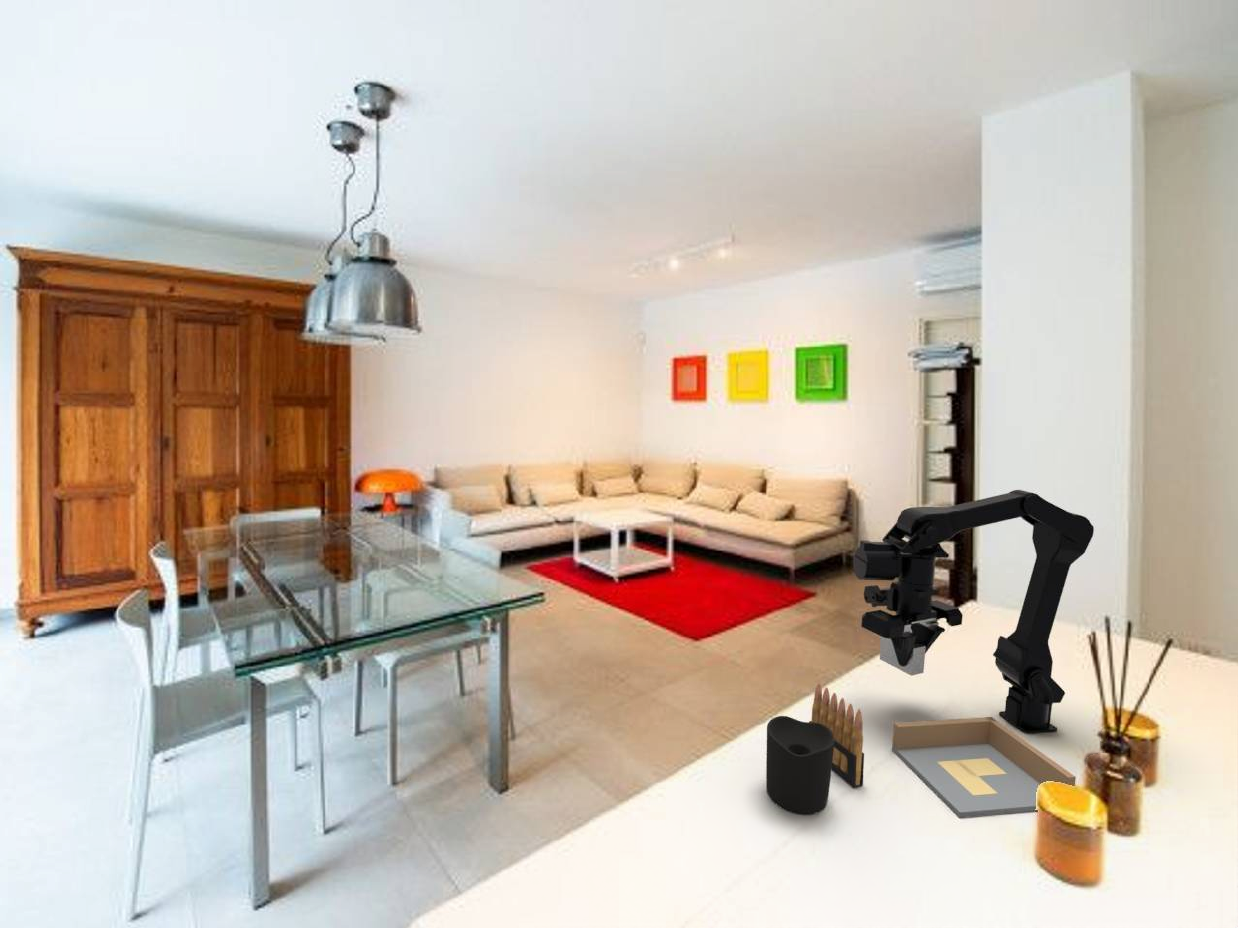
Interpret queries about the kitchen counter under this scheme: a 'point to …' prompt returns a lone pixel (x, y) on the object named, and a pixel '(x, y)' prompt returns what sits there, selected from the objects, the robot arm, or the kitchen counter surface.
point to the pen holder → (799, 764)
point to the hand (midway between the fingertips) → (908, 663)
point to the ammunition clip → (842, 735)
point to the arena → (976, 764)
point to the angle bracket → (914, 662)
